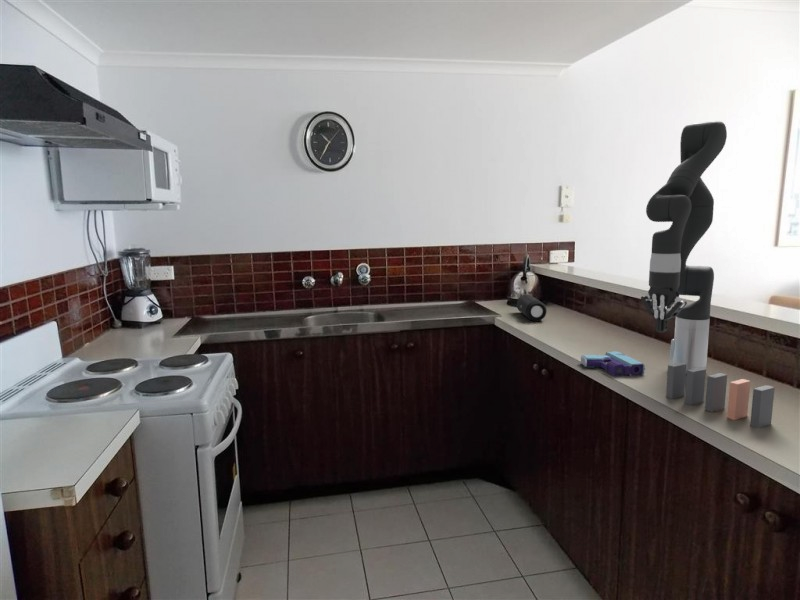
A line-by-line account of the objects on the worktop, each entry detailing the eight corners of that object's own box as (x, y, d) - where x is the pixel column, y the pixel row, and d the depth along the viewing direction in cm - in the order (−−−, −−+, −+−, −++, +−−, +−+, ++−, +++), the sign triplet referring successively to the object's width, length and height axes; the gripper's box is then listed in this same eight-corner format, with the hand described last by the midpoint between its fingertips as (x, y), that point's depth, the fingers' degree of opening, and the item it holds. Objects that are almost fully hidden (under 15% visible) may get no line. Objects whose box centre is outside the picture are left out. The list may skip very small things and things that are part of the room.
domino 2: (684, 403, 134) (687, 370, 133) (697, 399, 136) (699, 367, 135) (691, 405, 133) (693, 372, 131) (703, 401, 135) (706, 369, 133)
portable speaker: (515, 312, 264) (515, 293, 262) (534, 312, 264) (534, 293, 262) (526, 322, 239) (527, 301, 237) (547, 322, 238) (548, 301, 237)
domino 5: (750, 425, 119) (753, 388, 118) (762, 421, 122) (766, 385, 120) (758, 428, 118) (761, 390, 116) (771, 423, 120) (774, 387, 118)
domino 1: (666, 396, 139) (668, 364, 138) (678, 393, 141) (680, 362, 140) (671, 398, 137) (674, 366, 136) (684, 395, 140) (686, 363, 138)
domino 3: (704, 409, 129) (707, 375, 128) (717, 406, 131) (720, 372, 130) (711, 412, 128) (714, 377, 126) (724, 408, 130) (727, 374, 128)
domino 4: (727, 417, 124) (730, 382, 123) (739, 413, 126) (742, 378, 125) (734, 420, 123) (737, 384, 121) (747, 416, 125) (750, 380, 123)
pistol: (576, 365, 172) (618, 362, 173) (600, 379, 156) (645, 375, 158) (576, 353, 171) (618, 350, 173) (600, 366, 156) (646, 363, 158)
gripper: (697, 270, 134) (692, 335, 137) (653, 267, 146) (649, 326, 149) (677, 272, 131) (673, 338, 134) (634, 268, 143) (631, 329, 146)
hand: (661, 331), depth 141 cm, fingers closed
